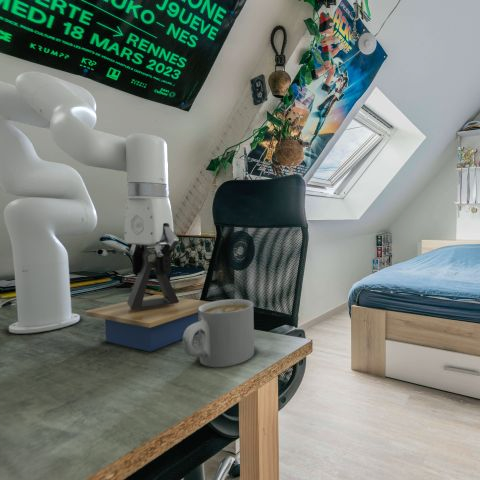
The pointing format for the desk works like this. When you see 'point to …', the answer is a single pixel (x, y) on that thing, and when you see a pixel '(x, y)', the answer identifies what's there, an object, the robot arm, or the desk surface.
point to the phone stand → (141, 283)
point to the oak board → (147, 312)
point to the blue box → (148, 333)
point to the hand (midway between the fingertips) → (152, 272)
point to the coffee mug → (222, 333)
